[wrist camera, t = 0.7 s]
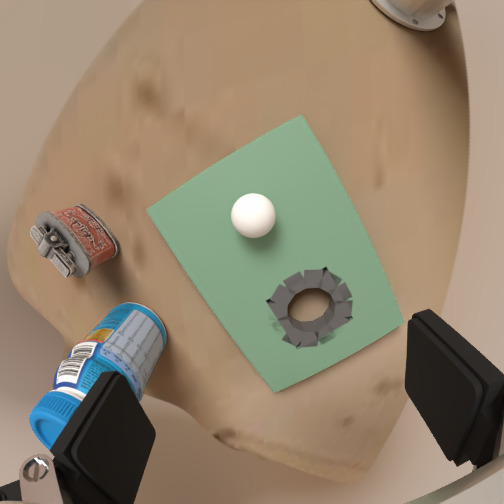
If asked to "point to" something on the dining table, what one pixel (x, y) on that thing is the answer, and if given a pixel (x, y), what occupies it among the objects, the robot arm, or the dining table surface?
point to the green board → (281, 256)
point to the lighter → (74, 240)
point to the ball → (253, 215)
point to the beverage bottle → (101, 365)
